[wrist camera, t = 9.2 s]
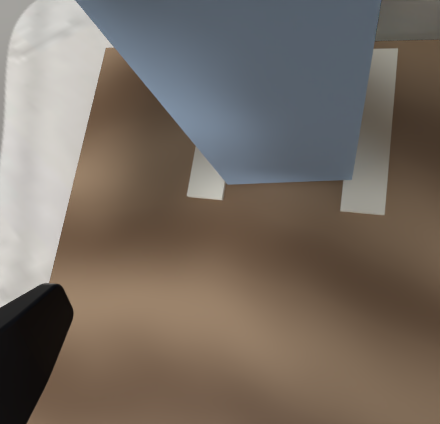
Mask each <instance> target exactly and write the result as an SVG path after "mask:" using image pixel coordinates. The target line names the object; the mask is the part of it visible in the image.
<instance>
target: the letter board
mask: <svg viewBox="0 0 440 424" xmlns="http://www.w3.org/2000/svg"><path fill="white" fill-rule="evenodd" d="M49 283H55V284H60V285H61V286H62V287H63V288H64V290H65V292H66V294H67V297H68V299H69V301H70V303H71V305H72V307H73V311H74V316H73V320H72V323H71V326H70V328H69V331H68V333H67V336H66V338H65V341H64V343H63V346H62V348H61V351H60V353H59V356H58V358H57V361H56V363H55V366H54V368H53V371H52V373H51V376H50V378H49V380H48V382H47V384H46V387H45V389H44V391H43V393H42V395H41V397H40V399H39V401H38V403H37V405H36V407H35V408H34V410H33V412H32V414H31V416H30V418H29V420H28V422H27V424H440V40H403V41H375V42H374V48H373V55H372V61H371V67H370V73H369V79H368V85H367V91H366V97H365V103H364V109H363V115H362V121H361V128H360V134H359V140H358V146H357V152H356V158H355V164H354V170H353V176H352V180H335V181H309V182H283V183H258V184H232V185H228V184H227V183H226V182H225V181H224V180H223V178H222V177H221V176H220V175H219V174H218V172H217V171H216V170H215V169H214V167H213V166H212V165H211V164H210V163H209V161H208V160H207V159H206V158H205V157H204V155H203V154H202V153H201V152H200V151H199V149H198V148H197V147H196V146H195V144H194V143H193V142H192V141H191V140H190V138H189V137H188V136H187V135H186V134H185V132H184V131H183V130H182V129H181V128H180V126H179V125H178V124H177V123H176V121H175V120H174V119H173V118H172V117H171V115H170V114H169V113H168V112H167V111H166V109H165V108H164V107H163V106H162V105H161V103H160V102H159V101H158V100H157V98H156V97H155V96H154V95H153V94H152V92H151V91H150V90H149V89H148V88H147V86H146V85H145V84H144V83H143V82H142V80H141V79H140V78H139V77H138V75H137V74H136V73H135V72H134V71H133V69H132V68H131V67H130V66H129V65H128V63H127V62H126V61H125V60H124V59H123V57H122V56H121V55H120V54H119V52H118V51H117V50H116V49H115V48H106V50H105V54H104V58H103V62H102V67H101V71H100V75H99V79H98V83H97V87H96V91H95V96H94V100H93V104H92V108H91V112H90V116H89V120H88V124H87V129H86V133H85V137H84V141H83V145H82V149H81V153H80V158H79V162H78V166H77V170H76V174H75V178H74V182H73V187H72V191H71V195H70V199H69V203H68V207H67V211H66V216H65V220H64V224H63V228H62V232H61V236H60V240H59V245H58V249H57V253H56V257H55V261H54V265H53V269H52V274H51V278H50V282H49Z"/></svg>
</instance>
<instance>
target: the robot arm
mask: <svg viewBox="0 0 440 424" xmlns="http://www.w3.org/2000/svg"><path fill="white" fill-rule="evenodd" d="M73 316H74V311H73V307H72V305H71V303H70V301H69V299H68V297H67V294H66V292H65V290H64V288H63V287H62V286H61V285H60V284H55V283H44V284H41V285H39V286H37V287H36V288H34V289H32V290H30V291H29V292H27V293H25V294H23V295H22V296H20V297H18V298H16V299H15V300H13V301H11V302H9V303H8V304H6V305H4V306H3V307H1V308H0V424H27V422H28V420H29V418H30V416H31V414H32V412H33V410H34V408H35V407H36V405H37V403H38V401H39V399H40V397H41V395H42V393H43V391H44V389H45V387H46V384H47V382H48V380H49V378H50V376H51V373H52V371H53V368H54V366H55V363H56V361H57V358H58V356H59V353H60V351H61V348H62V346H63V343H64V341H65V338H66V336H67V333H68V331H69V328H70V326H71V323H72V320H73Z"/></svg>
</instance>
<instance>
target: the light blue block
mask: <svg viewBox="0 0 440 424" xmlns="http://www.w3.org/2000/svg"><path fill="white" fill-rule="evenodd" d="M76 2H77V3H78V4H79V5H80V6H81V8H82V9H83V10H84V11H85V13H86V14H87V15H88V16H89V17H90V19H91V20H92V21H93V22H94V23H95V25H96V26H97V27H98V28H99V29H100V31H101V32H102V33H103V34H104V36H105V37H106V38H107V39H108V40H109V42H110V43H111V44H112V45H113V46H114V48H115V49H116V50H117V51H118V52H119V54H120V55H121V56H122V57H123V59H124V60H125V61H126V62H127V63H128V65H129V66H130V67H131V68H132V69H133V71H134V72H135V73H136V74H137V75H138V77H139V78H140V79H141V80H142V82H143V83H144V84H145V85H146V86H147V88H148V89H149V90H150V91H151V92H152V94H153V95H154V96H155V97H156V98H157V100H158V101H159V102H160V103H161V105H162V106H163V107H164V108H165V109H166V111H167V112H168V113H169V114H170V115H171V117H172V118H173V119H174V120H175V121H176V123H177V124H178V125H179V126H180V128H181V129H182V130H183V131H184V132H185V134H186V135H187V136H188V137H189V138H190V140H191V141H192V142H193V143H194V144H195V146H196V147H197V148H198V149H199V151H200V152H201V153H202V154H203V155H204V157H205V158H206V159H207V160H208V161H209V163H210V164H211V165H212V166H213V167H214V169H215V170H216V171H217V172H218V174H219V175H220V176H221V177H222V178H223V180H224V181H225V182H226V183H227V184H228V185H232V184H258V183H283V182H309V181H335V180H352V176H353V170H354V164H355V158H356V152H357V146H358V140H359V134H360V128H361V121H362V115H363V109H364V103H365V97H366V91H367V85H368V79H369V73H370V67H371V61H372V55H373V48H374V42H375V36H376V30H377V24H378V18H379V12H380V6H381V0H76Z"/></svg>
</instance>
